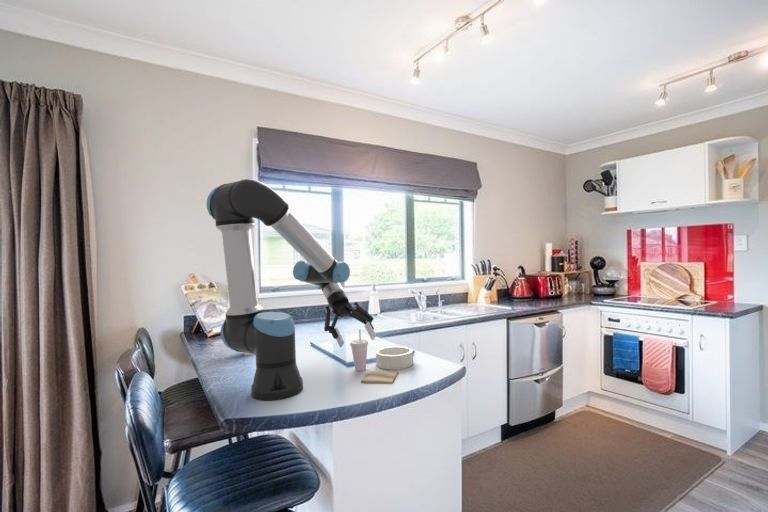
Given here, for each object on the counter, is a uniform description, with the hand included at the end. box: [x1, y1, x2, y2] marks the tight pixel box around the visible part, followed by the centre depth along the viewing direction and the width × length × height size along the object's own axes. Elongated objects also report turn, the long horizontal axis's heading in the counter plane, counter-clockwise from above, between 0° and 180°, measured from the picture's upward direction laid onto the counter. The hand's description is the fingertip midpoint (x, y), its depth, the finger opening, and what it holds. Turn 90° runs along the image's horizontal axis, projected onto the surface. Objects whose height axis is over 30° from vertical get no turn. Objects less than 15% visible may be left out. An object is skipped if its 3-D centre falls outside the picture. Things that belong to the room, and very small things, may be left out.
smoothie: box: [349, 329, 369, 372], centre depth 133 cm, size 6×6×14 cm
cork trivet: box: [360, 370, 399, 385], centre depth 123 cm, size 10×10×1 cm
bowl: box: [375, 345, 414, 371], centre depth 137 cm, size 13×13×5 cm
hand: (358, 341), depth 136 cm, fingers open, 13 cm apart
